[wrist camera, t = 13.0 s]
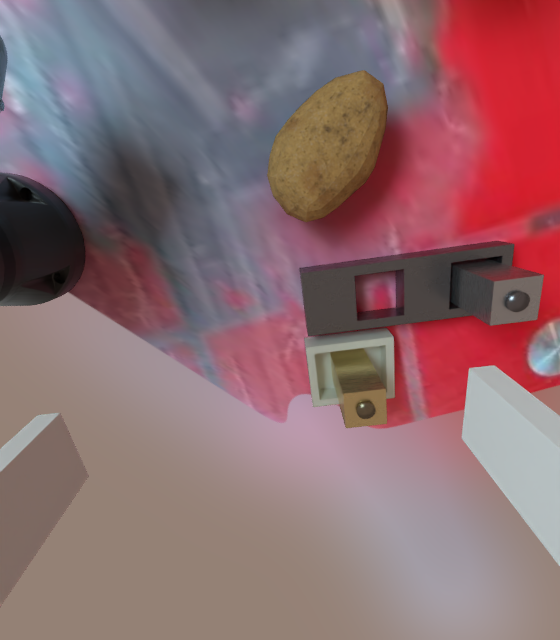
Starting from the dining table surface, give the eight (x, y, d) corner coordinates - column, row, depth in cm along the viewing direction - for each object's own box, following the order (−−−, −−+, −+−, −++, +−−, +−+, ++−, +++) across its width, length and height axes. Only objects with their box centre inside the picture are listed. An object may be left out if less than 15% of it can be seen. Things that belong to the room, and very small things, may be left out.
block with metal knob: (329, 351, 43) (343, 396, 33) (363, 347, 43) (387, 391, 33) (332, 380, 44) (346, 430, 35) (364, 376, 44) (388, 426, 34)
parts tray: (311, 394, 46) (313, 407, 43) (304, 337, 43) (305, 347, 40) (387, 385, 45) (394, 397, 42) (386, 327, 42) (393, 336, 39)
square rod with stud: (442, 296, 41) (492, 327, 31) (443, 262, 39) (496, 282, 29) (478, 292, 40) (540, 321, 31) (480, 257, 39) (547, 275, 29)
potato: (398, 126, 34) (430, 105, 27) (318, 236, 38) (326, 244, 31) (326, 62, 32) (340, 20, 25) (250, 185, 36) (242, 181, 29)
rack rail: (306, 327, 42) (308, 336, 39) (299, 268, 39) (300, 273, 37) (491, 303, 41) (506, 311, 38) (497, 240, 38) (514, 243, 35)
